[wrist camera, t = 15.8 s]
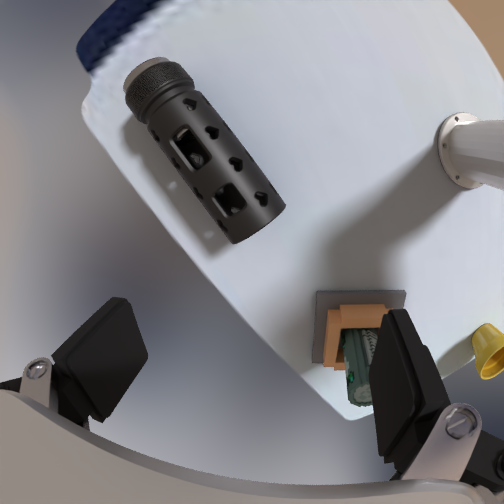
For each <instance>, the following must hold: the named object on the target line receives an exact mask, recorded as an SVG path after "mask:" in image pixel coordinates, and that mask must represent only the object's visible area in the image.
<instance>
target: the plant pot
mask: <svg viewBox="0 0 504 504" xmlns="http://www.w3.org/2000/svg"><path fill="white" fill-rule="evenodd" d="M471 342H472V346H473V350H474V354H475V357H476V364H475V365H476V369H477V371H478V373H479V375H480V377H481V378H482V379H490V378H492V377H494V376H496V375H498V374H499V373H500V372H502V371H503V370H504V334H503V333H502V332H501V331H499V330H498V329H497V328H495V327H494V326H493V325H492V324H490V323H487V324H484V325H482V326H481V327H480V328H478V329H477V330H476V332H475V333H474V335H473V337H472V341H471Z"/></svg>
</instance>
